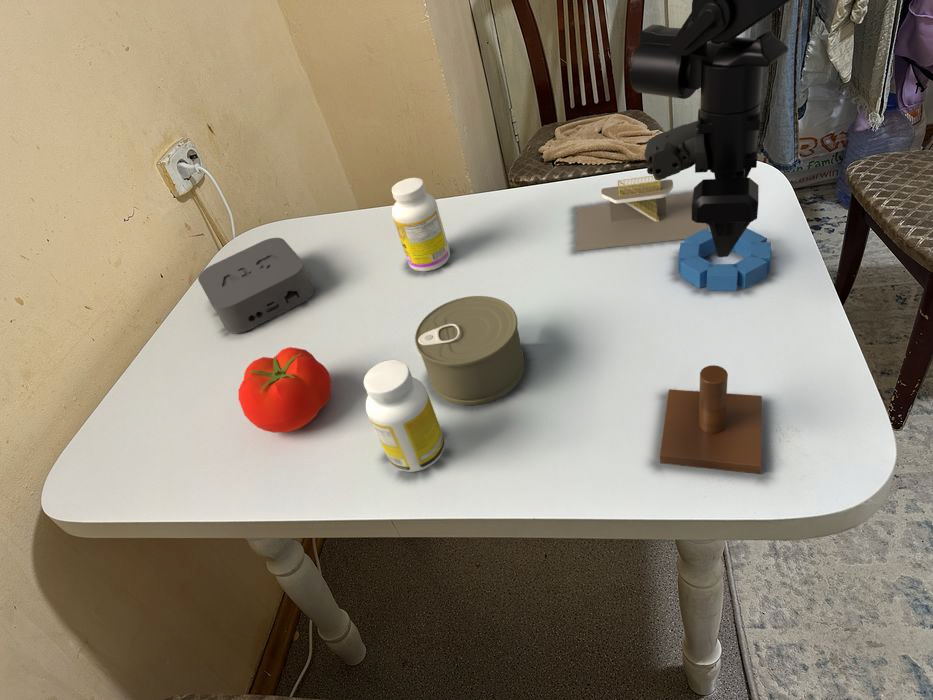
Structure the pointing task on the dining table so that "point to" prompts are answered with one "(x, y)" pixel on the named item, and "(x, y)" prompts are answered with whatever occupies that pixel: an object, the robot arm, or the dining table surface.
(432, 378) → the can
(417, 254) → the supplement bottle
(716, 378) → the peg stand
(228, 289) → the streaming box
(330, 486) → the dining table surface
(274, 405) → the tomato
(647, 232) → the platform
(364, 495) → the dining table surface
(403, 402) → the pill bottle
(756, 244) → the blue ring
